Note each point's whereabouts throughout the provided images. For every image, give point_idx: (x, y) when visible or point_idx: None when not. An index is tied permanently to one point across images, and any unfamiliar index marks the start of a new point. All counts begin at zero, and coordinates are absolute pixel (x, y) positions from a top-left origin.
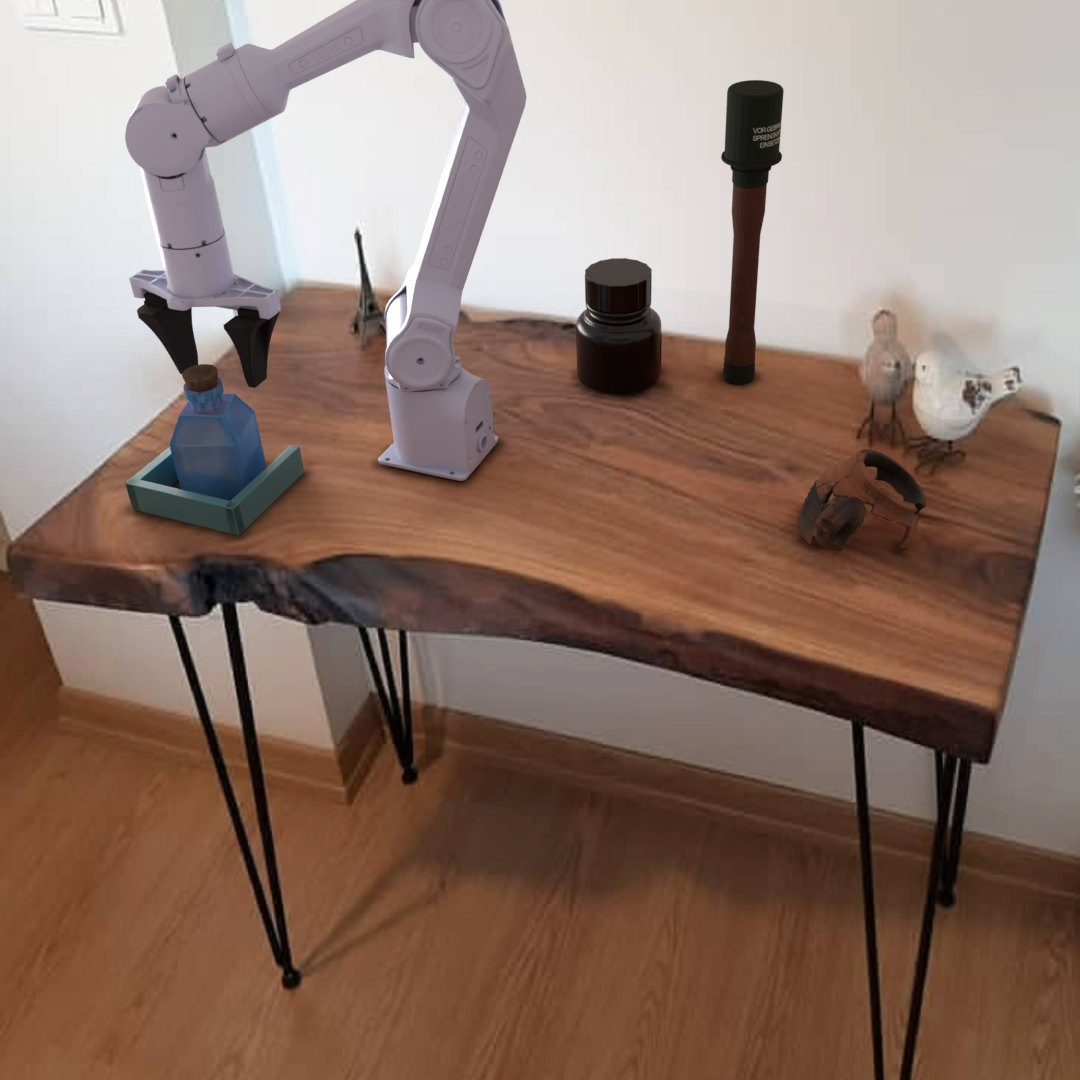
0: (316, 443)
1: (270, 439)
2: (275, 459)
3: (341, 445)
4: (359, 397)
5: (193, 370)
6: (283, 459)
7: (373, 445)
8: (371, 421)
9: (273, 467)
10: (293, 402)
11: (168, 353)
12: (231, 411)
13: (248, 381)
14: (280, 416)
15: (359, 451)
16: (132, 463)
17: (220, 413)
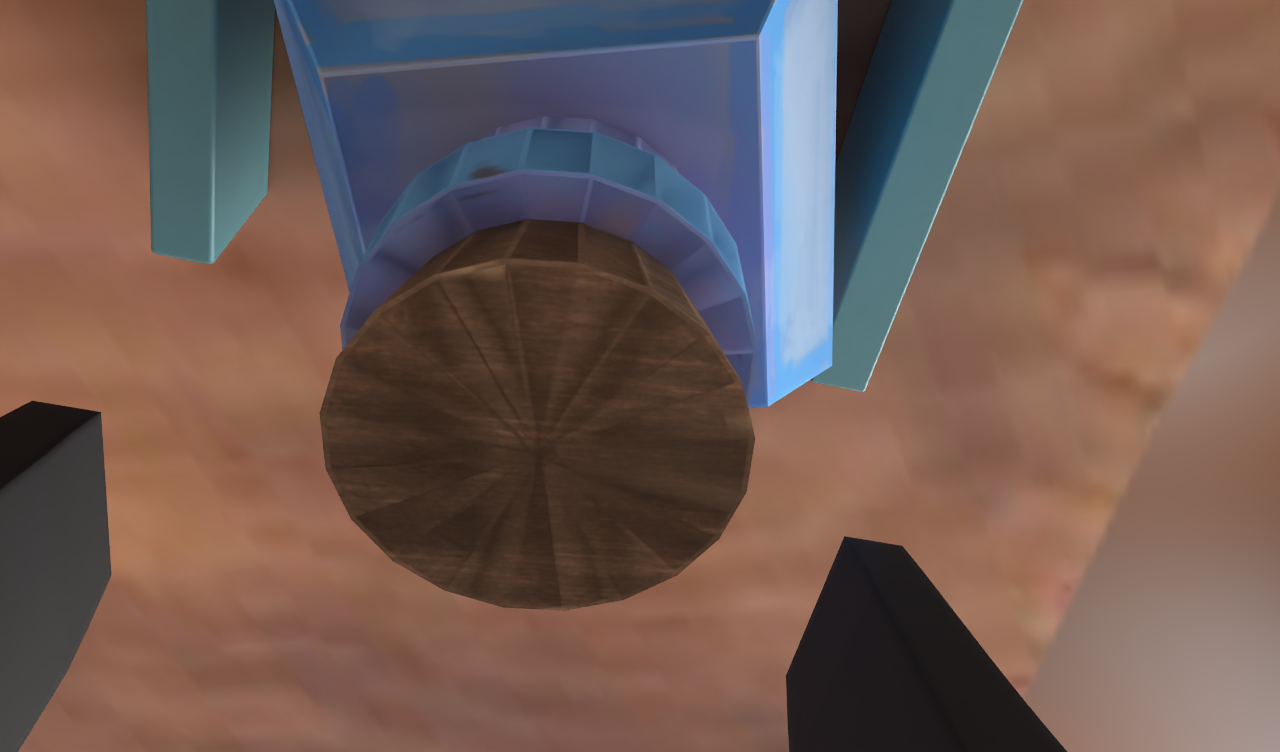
0: (299, 419)
1: None
2: (209, 98)
3: (172, 417)
4: (301, 718)
5: (636, 484)
6: (156, 102)
7: None
8: (150, 587)
9: (166, 3)
10: (560, 668)
11: (1027, 705)
12: (352, 231)
13: (26, 434)
14: None
15: (57, 383)
16: (1191, 155)
17: (354, 118)
